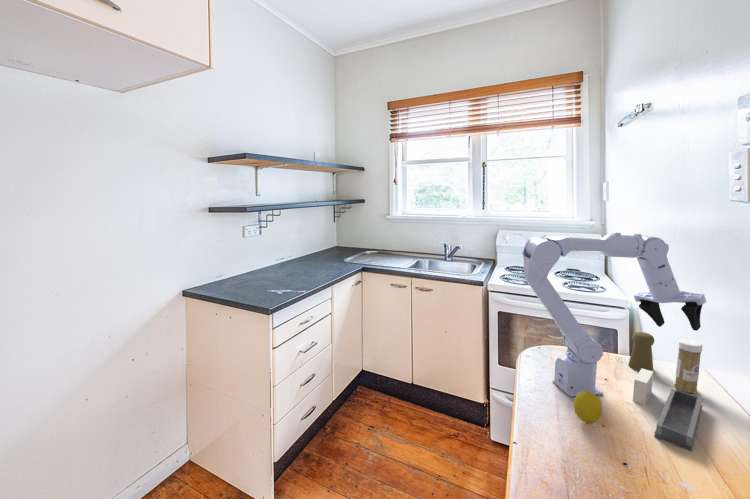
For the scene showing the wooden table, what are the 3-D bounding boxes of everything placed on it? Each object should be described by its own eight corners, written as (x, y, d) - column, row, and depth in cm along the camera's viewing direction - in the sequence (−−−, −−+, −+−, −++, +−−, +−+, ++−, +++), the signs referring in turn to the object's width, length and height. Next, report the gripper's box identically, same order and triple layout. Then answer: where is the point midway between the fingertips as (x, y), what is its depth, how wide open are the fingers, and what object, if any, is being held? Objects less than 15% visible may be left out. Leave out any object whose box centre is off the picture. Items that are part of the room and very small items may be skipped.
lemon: (601, 434, 74) (603, 401, 73) (572, 426, 77) (574, 394, 76) (600, 419, 79) (602, 388, 78) (573, 412, 82) (574, 382, 80)
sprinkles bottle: (691, 395, 87) (697, 347, 85) (670, 387, 91) (675, 340, 89) (700, 391, 89) (706, 343, 87) (679, 382, 93) (684, 337, 91)
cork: (658, 372, 98) (662, 337, 97) (638, 373, 99) (641, 337, 97) (642, 362, 104) (645, 329, 103) (623, 363, 105) (626, 329, 103)
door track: (691, 451, 68) (693, 438, 68) (654, 436, 73) (655, 424, 72) (701, 409, 81) (703, 397, 81) (669, 398, 86) (670, 388, 85)
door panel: (644, 405, 84) (647, 383, 83) (632, 401, 86) (634, 379, 85) (651, 392, 89) (653, 371, 88) (639, 388, 91) (641, 368, 90)
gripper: (703, 271, 80) (722, 322, 81) (637, 273, 93) (654, 316, 94) (689, 285, 77) (709, 336, 78) (623, 284, 91) (641, 328, 92)
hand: (678, 326), depth 86 cm, fingers open, 7 cm apart
